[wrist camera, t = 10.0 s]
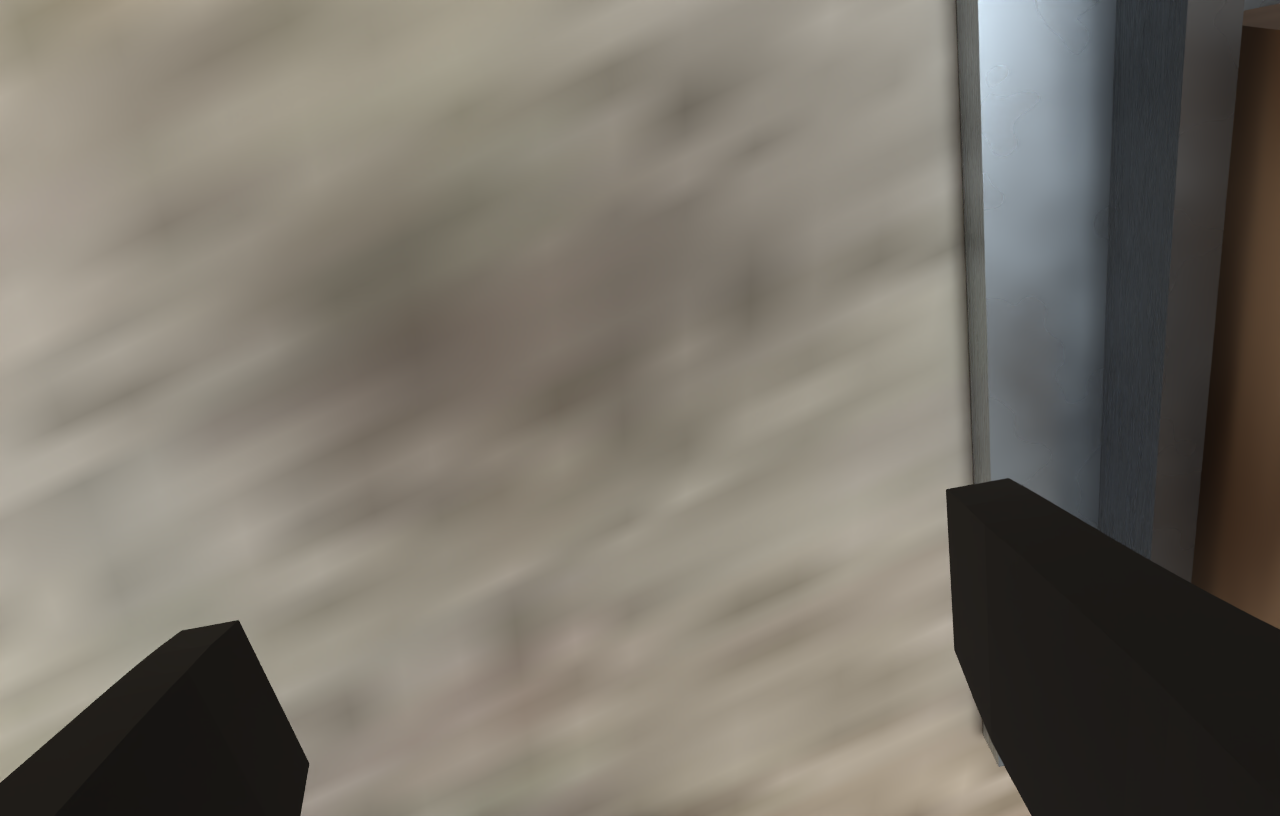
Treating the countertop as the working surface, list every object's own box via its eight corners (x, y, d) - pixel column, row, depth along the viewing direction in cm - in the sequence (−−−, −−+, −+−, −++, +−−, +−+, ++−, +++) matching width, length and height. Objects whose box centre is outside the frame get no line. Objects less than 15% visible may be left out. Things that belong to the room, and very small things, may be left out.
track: (1390, 665, 23) (1495, 761, 20) (983, 735, 23) (1033, 837, 21) (1612, -338, 14) (1855, -406, 11) (949, -192, 14) (1030, -224, 12)
